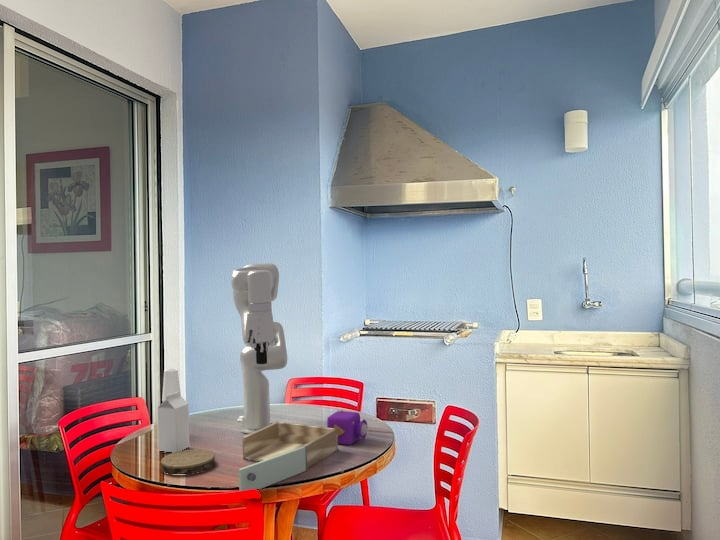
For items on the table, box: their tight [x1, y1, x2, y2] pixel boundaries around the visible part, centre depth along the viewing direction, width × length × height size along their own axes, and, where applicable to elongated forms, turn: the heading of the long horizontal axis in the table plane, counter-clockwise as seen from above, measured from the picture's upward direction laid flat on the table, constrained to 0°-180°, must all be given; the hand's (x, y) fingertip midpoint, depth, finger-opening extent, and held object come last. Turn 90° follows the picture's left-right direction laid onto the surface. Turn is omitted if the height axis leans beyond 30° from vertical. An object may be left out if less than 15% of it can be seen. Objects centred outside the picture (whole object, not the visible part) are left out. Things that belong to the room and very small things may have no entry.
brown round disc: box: [160, 448, 216, 475], centre depth 171 cm, size 16×16×3 cm
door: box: [238, 446, 308, 491], centre depth 155 cm, size 24×2×7 cm, turn 138°
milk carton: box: [157, 391, 190, 453], centre depth 187 cm, size 7×7×19 cm
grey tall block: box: [161, 368, 182, 403], centre depth 205 cm, size 7×7×24 cm
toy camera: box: [326, 409, 368, 446], centre depth 191 cm, size 11×14×10 cm
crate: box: [242, 421, 339, 470], centre depth 179 cm, size 24×19×7 cm
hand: (261, 363), depth 182 cm, fingers closed
